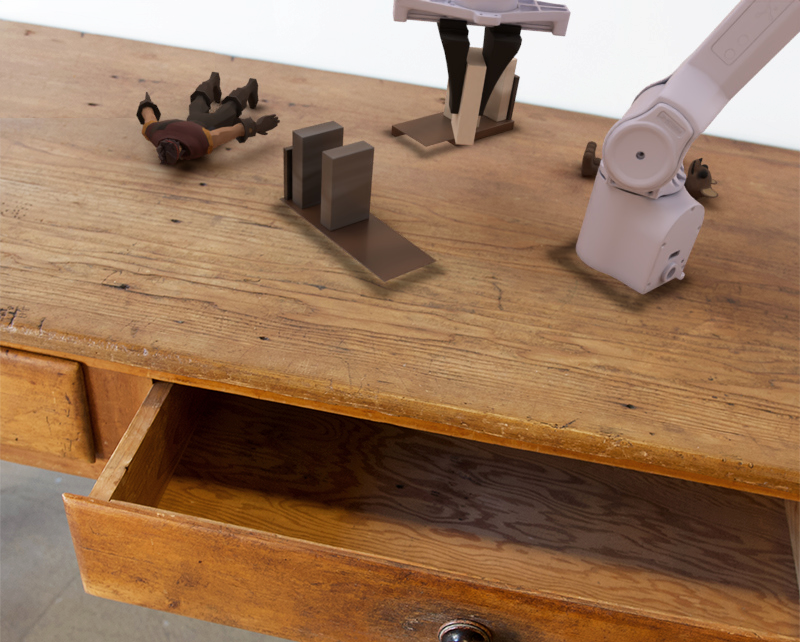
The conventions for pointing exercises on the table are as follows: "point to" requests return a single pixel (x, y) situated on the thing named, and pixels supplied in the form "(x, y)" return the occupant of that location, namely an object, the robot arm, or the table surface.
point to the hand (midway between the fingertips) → (465, 110)
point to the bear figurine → (694, 183)
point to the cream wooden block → (470, 98)
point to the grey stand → (344, 199)
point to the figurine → (204, 122)
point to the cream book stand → (490, 123)
